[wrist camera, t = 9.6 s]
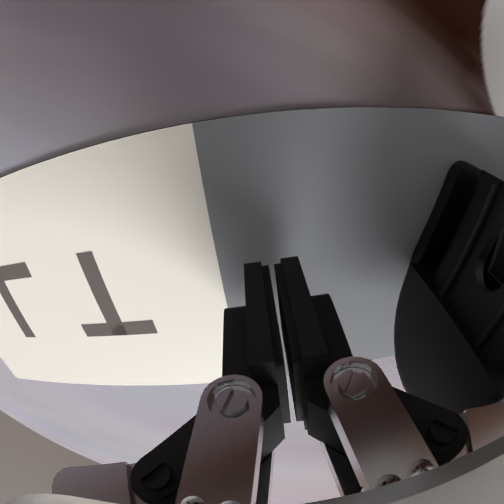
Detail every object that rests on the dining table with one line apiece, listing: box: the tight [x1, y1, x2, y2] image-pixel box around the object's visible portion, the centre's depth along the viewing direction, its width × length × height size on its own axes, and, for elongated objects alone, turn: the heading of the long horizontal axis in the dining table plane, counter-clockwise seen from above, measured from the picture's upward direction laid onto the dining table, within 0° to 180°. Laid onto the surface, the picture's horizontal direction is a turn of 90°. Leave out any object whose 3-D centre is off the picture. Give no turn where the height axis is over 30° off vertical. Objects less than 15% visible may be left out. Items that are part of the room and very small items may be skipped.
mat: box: [192, 107, 504, 375], centre depth 11 cm, size 11×16×1 cm
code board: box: [0, 123, 228, 385], centre depth 11 cm, size 11×14×1 cm
